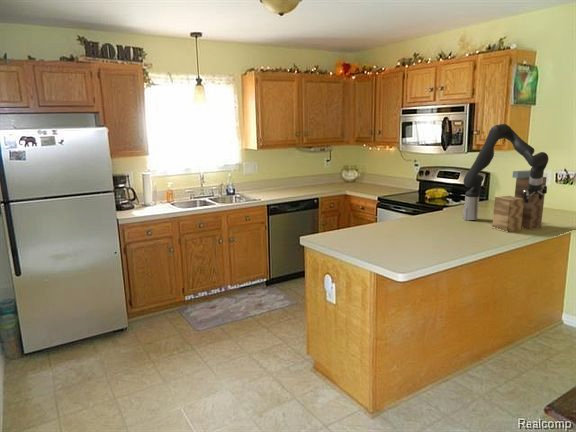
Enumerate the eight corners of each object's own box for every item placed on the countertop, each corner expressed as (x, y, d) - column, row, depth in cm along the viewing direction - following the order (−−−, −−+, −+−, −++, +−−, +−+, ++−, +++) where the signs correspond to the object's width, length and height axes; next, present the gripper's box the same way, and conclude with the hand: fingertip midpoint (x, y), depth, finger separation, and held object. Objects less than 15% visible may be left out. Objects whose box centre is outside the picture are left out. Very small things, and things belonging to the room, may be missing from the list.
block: (506, 232, 270) (509, 200, 265) (492, 227, 281) (494, 197, 276) (520, 230, 274) (524, 198, 269) (506, 226, 285) (509, 195, 280)
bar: (517, 178, 269) (518, 172, 268) (512, 177, 272) (512, 171, 272) (543, 175, 276) (543, 169, 275) (537, 175, 279) (538, 169, 278)
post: (529, 229, 275) (534, 178, 267) (511, 224, 288) (516, 175, 280) (540, 228, 278) (546, 177, 270) (522, 223, 291) (528, 174, 283)
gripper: (544, 174, 260) (541, 193, 271) (520, 180, 262) (519, 199, 273) (551, 181, 255) (547, 201, 265) (527, 187, 257) (524, 207, 267)
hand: (533, 200), depth 269 cm, fingers open, 8 cm apart
